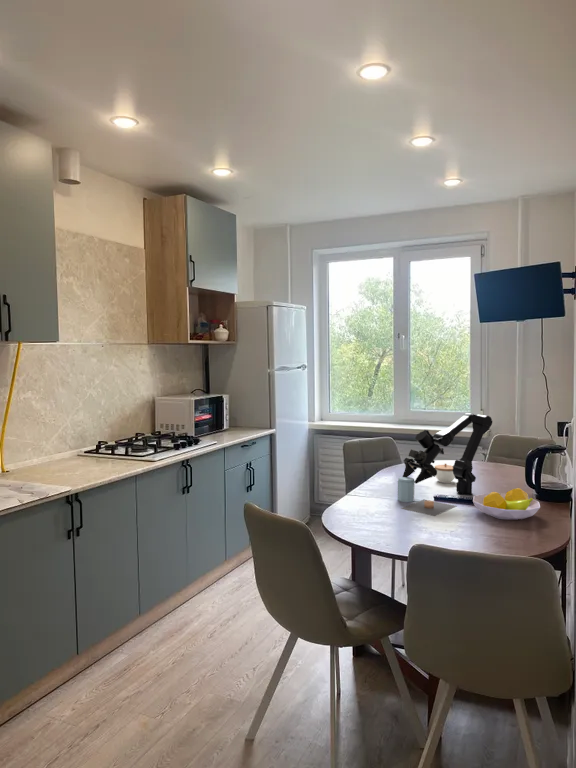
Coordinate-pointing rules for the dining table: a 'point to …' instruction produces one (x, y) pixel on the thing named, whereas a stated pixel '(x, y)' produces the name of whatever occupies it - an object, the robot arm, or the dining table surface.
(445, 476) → the lidded jar
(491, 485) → the dining table surface
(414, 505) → the placemat
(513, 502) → the fruit bowl
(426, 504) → the tan rounded pebble
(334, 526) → the dining table surface
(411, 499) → the dome-topped octagonal prism
